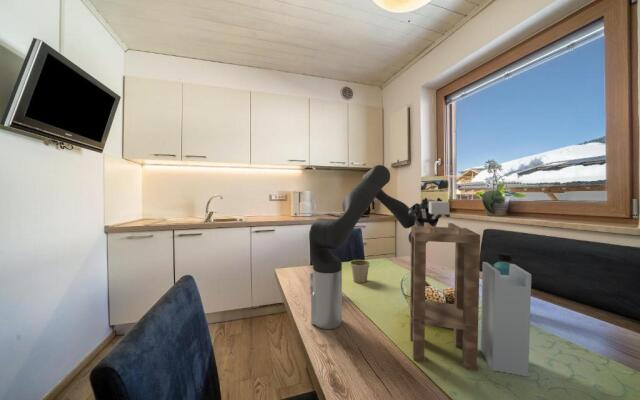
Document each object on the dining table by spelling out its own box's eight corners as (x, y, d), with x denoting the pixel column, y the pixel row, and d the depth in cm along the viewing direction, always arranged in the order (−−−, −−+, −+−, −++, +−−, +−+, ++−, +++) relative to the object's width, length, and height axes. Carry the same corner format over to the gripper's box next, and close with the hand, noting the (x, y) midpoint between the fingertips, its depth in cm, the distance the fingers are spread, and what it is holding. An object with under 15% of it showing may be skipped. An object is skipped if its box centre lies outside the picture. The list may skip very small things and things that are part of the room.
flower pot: (346, 279, 118) (346, 261, 118) (362, 276, 122) (362, 258, 122) (356, 286, 110) (357, 266, 110) (374, 282, 114) (374, 264, 114)
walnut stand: (413, 360, 62) (415, 227, 61) (409, 335, 73) (411, 221, 71) (477, 370, 58) (480, 229, 57) (463, 343, 69) (466, 223, 67)
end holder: (492, 370, 58) (495, 271, 57) (480, 349, 66) (482, 261, 65) (528, 376, 56) (531, 274, 55) (511, 354, 64) (514, 264, 63)
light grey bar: (431, 214, 67) (431, 202, 67) (422, 208, 86) (422, 199, 86) (449, 214, 66) (449, 202, 66) (435, 208, 85) (436, 199, 85)
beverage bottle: (505, 315, 84) (507, 256, 83) (487, 306, 90) (488, 252, 89) (520, 313, 85) (521, 255, 85) (501, 304, 92) (502, 250, 91)
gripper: (405, 212, 97) (408, 190, 82) (445, 212, 93) (456, 190, 78) (406, 230, 93) (409, 210, 79) (447, 231, 90) (459, 211, 75)
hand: (432, 200), depth 78 cm, fingers closed on light grey bar, 3 cm apart
